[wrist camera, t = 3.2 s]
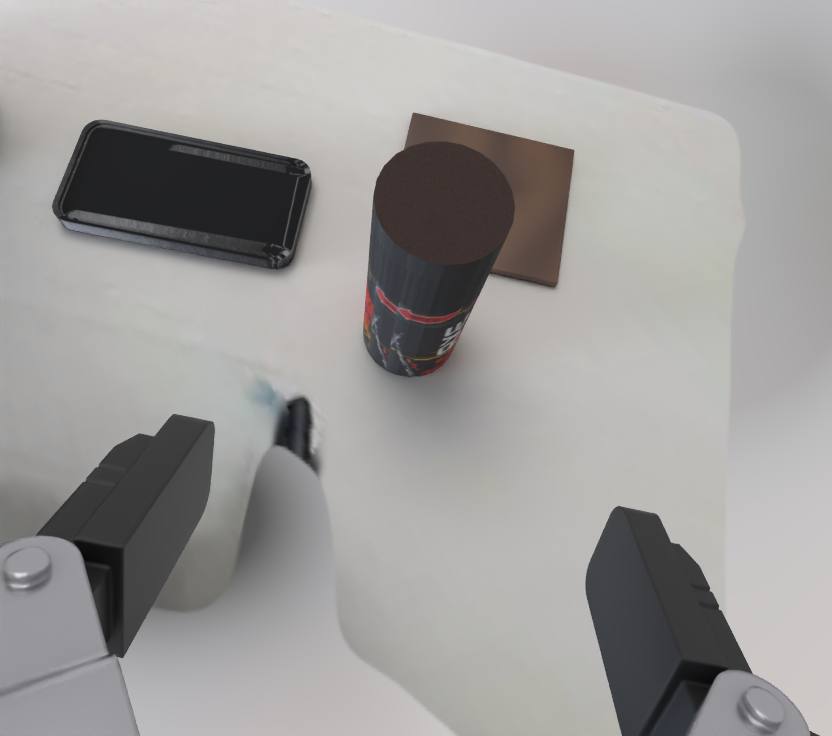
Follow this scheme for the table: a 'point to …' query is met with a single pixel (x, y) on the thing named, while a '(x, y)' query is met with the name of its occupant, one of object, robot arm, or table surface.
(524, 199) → the walnut board
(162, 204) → the phone
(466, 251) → the deodorant
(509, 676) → the table surface
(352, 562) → the table surface
